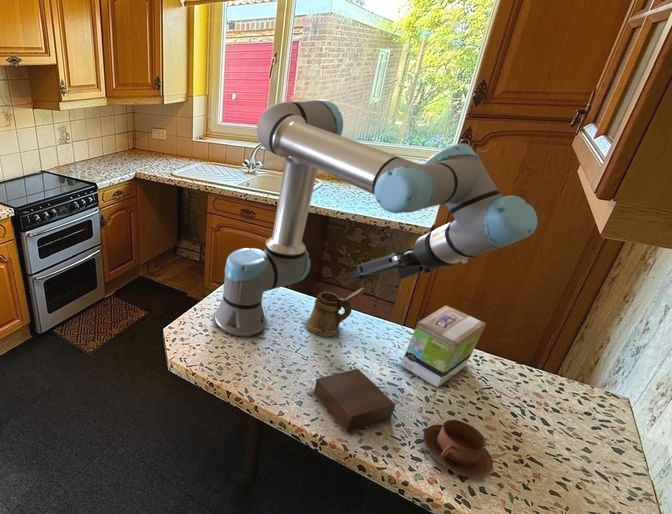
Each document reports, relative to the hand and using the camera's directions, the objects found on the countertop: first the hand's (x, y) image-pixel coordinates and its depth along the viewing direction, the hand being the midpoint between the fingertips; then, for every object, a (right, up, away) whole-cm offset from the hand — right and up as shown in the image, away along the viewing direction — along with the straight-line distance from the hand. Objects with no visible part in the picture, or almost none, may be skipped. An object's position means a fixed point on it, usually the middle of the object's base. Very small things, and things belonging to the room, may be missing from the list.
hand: (376, 275), depth 99 cm
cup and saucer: (+8, -37, -15) cm, 41 cm away
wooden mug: (-2, -18, +22) cm, 29 cm away
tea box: (+20, -25, +9) cm, 33 cm away
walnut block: (-8, -31, -4) cm, 32 cm away
